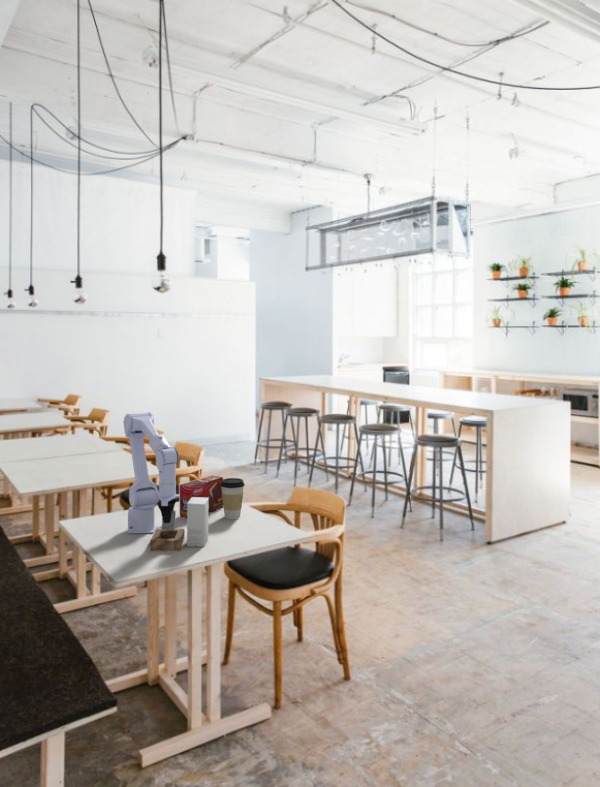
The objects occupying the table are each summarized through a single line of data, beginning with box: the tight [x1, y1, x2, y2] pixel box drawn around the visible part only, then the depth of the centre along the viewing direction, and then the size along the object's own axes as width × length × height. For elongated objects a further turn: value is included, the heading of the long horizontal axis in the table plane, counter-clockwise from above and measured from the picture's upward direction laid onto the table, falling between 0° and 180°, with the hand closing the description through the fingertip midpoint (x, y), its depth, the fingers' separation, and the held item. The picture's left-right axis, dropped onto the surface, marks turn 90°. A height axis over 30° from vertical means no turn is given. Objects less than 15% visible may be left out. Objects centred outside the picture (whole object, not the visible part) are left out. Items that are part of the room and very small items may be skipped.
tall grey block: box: [161, 509, 176, 530], centre depth 222 cm, size 4×4×6 cm
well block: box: [149, 528, 186, 551], centre depth 223 cm, size 10×13×4 cm
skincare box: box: [186, 497, 209, 548], centre depth 224 cm, size 8×7×16 cm
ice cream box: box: [178, 474, 224, 519], centre depth 263 cm, size 20×6×13 cm, turn 148°
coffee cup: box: [220, 477, 246, 520], centre depth 256 cm, size 10×10×15 cm
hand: (167, 520), depth 222 cm, fingers closed on tall grey block, 4 cm apart
